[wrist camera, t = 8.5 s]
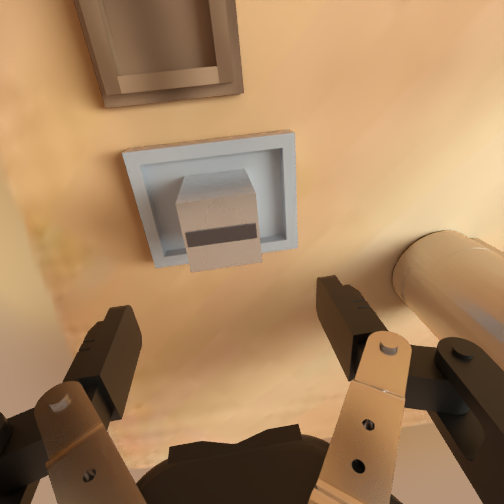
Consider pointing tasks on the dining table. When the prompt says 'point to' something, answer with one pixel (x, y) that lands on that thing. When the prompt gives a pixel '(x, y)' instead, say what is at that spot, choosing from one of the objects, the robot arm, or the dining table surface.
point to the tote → (208, 161)
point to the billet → (219, 220)
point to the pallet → (162, 49)
